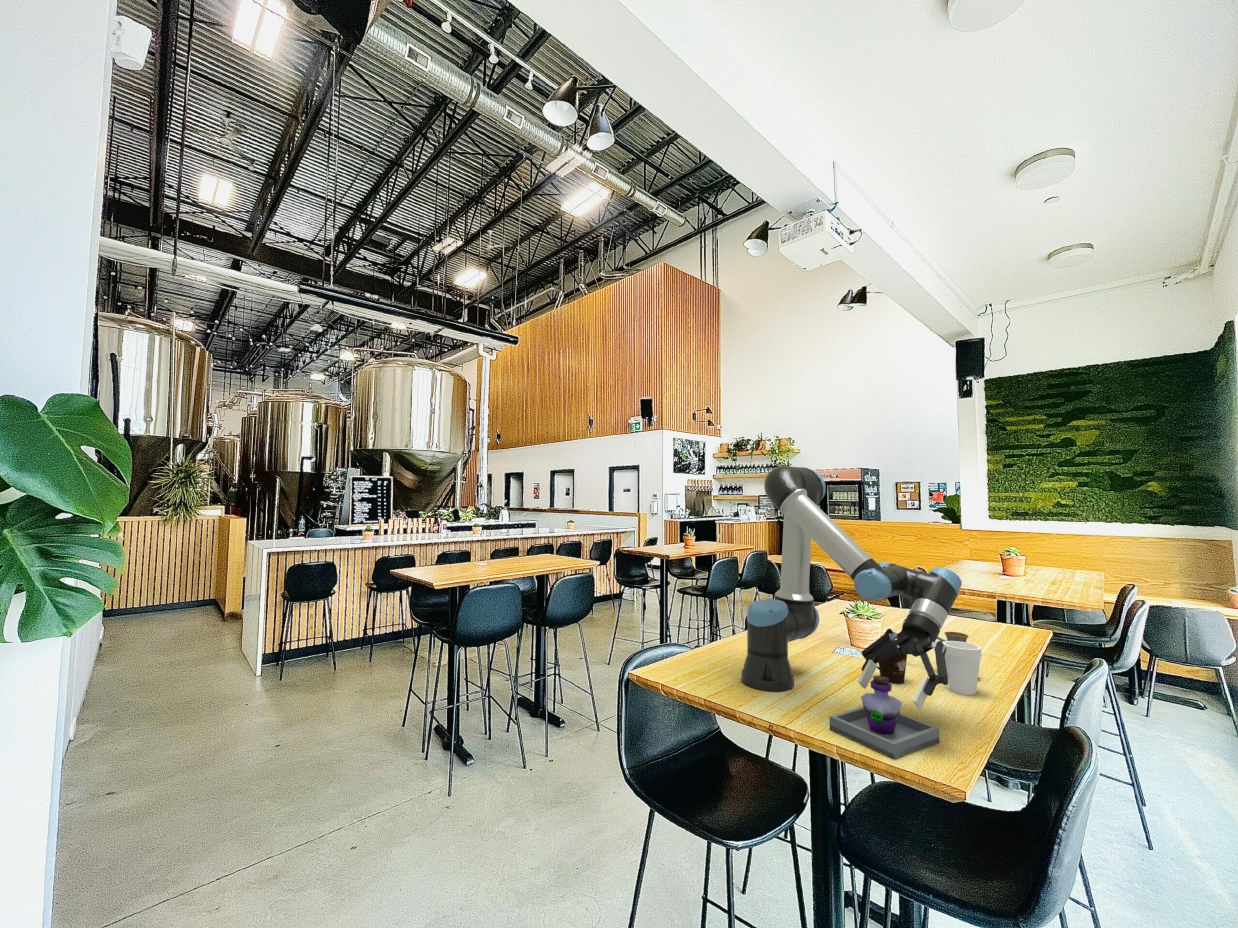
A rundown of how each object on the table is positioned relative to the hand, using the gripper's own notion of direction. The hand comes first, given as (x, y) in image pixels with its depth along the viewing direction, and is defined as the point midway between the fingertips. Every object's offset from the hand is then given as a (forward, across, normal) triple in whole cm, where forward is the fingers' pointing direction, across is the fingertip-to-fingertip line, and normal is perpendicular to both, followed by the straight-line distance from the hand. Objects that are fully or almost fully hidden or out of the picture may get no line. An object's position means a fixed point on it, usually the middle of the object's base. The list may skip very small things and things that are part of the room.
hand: (887, 694), depth 121 cm
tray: (+7, +1, -6) cm, 9 cm away
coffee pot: (-35, +21, -49) cm, 63 cm away
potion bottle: (+7, +1, -6) cm, 9 cm away
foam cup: (-26, +8, -40) cm, 49 cm away
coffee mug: (-18, +24, -32) cm, 44 cm away
